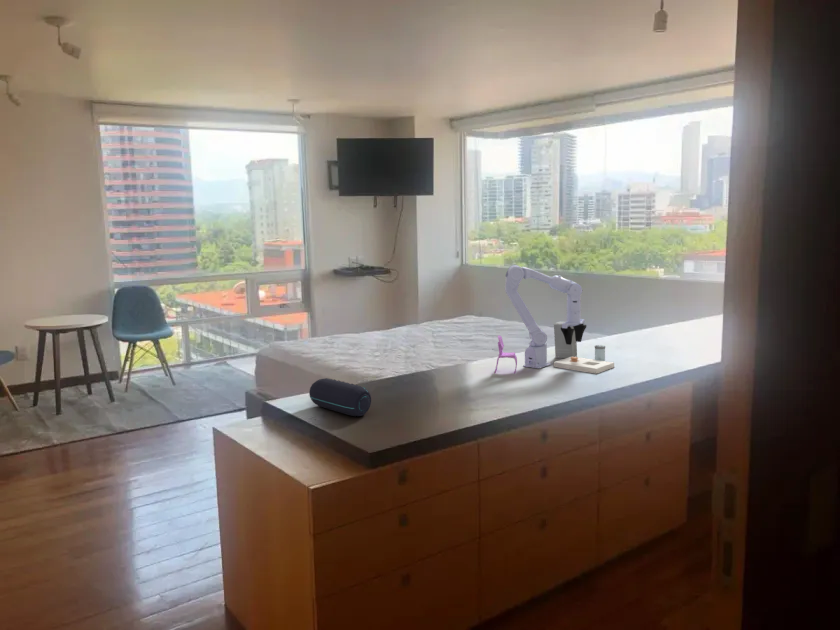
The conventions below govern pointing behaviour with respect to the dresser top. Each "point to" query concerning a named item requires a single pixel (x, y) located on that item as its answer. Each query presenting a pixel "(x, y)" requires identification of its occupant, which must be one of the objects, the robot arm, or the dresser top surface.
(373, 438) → the dresser top surface
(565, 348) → the skincare box
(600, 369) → the housing
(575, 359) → the tan round piece
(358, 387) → the portable speaker
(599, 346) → the cup
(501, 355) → the toy chair
